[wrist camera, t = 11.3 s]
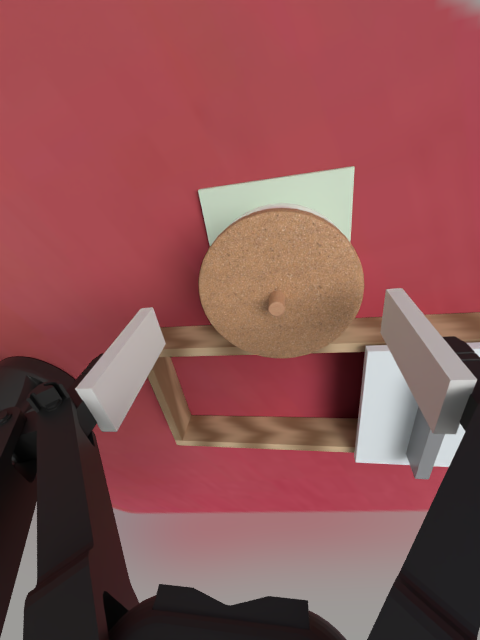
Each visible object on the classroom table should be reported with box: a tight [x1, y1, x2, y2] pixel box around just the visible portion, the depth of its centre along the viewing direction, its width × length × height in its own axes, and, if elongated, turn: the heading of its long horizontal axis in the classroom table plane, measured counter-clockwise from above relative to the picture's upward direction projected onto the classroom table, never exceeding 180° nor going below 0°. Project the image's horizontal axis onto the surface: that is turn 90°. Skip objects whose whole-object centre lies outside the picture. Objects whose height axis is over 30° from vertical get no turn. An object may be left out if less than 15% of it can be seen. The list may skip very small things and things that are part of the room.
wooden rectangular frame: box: [148, 312, 480, 452], centre depth 31 cm, size 34×16×4 cm, turn 99°
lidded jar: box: [198, 203, 364, 358], centre depth 21 cm, size 11×11×9 cm
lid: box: [354, 342, 480, 479], centre depth 26 cm, size 11×16×3 cm
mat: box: [198, 166, 354, 246], centre depth 25 cm, size 12×12×1 cm
